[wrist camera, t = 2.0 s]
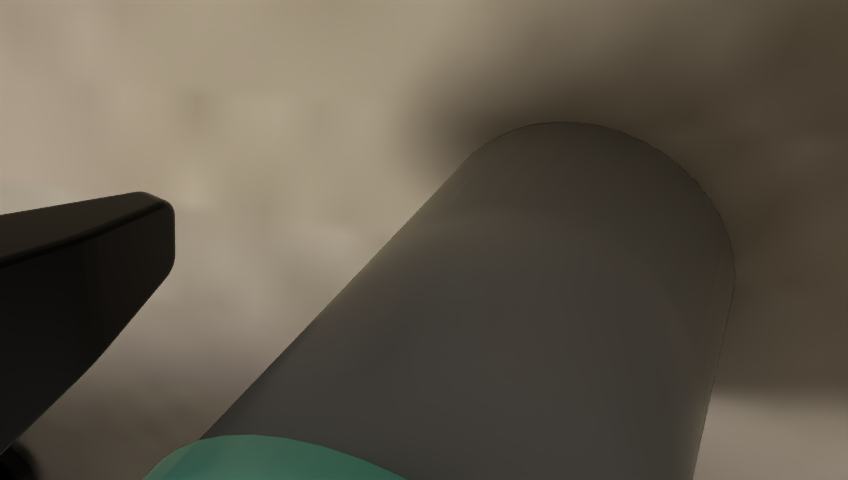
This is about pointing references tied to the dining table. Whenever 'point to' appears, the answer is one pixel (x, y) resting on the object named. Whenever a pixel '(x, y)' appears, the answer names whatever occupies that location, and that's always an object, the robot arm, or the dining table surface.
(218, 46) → the dining table surface
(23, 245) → the robot arm
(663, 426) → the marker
